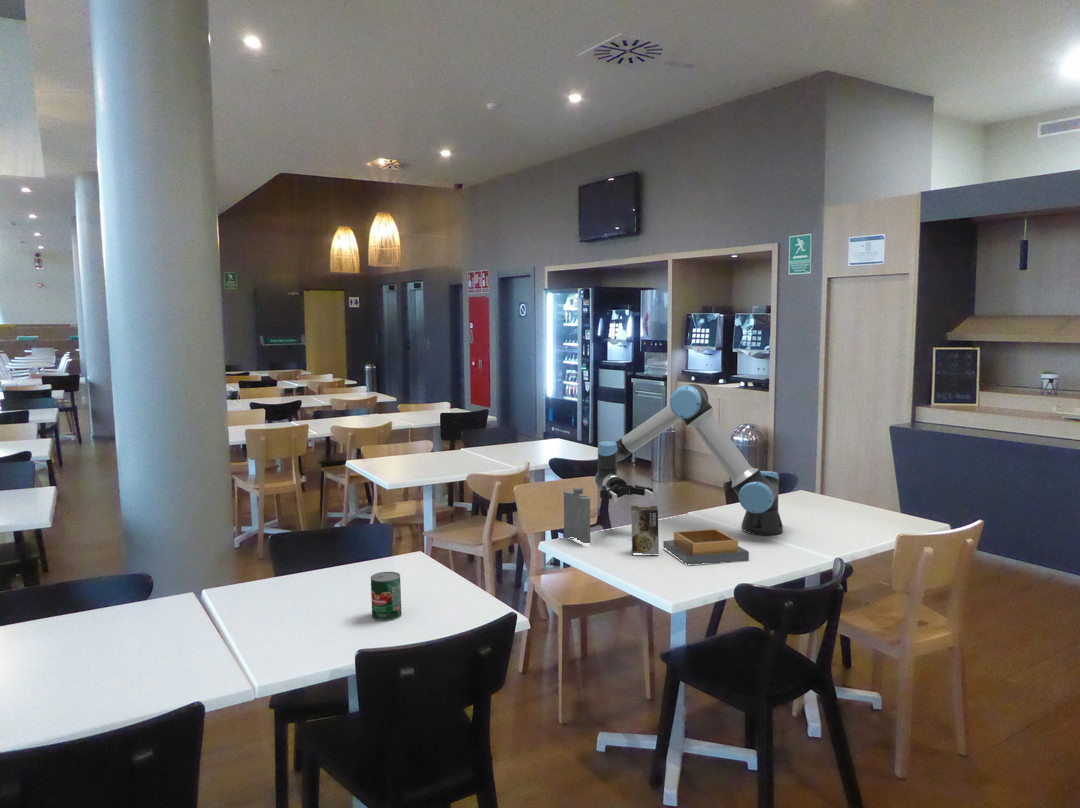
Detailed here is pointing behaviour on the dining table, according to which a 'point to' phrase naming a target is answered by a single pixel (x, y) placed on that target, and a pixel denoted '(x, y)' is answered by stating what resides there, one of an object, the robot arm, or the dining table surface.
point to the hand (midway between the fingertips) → (634, 497)
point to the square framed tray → (705, 547)
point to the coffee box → (645, 529)
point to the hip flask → (577, 515)
